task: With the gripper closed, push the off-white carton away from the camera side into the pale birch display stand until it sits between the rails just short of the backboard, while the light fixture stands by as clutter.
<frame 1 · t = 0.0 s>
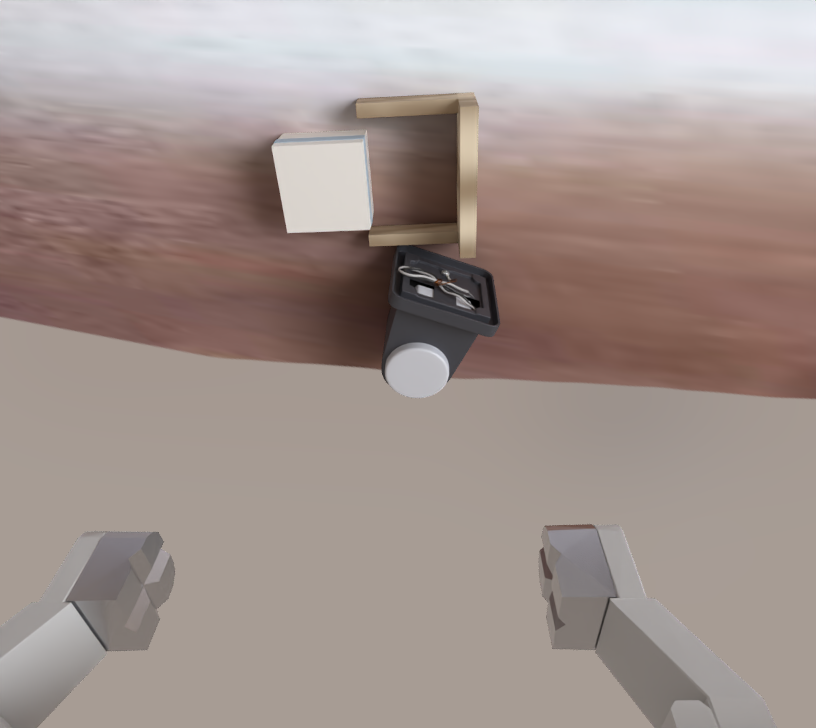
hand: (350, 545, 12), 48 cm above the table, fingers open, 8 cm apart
carton: (330, 173, 55), on the table
light fixture: (426, 302, 63), on the table
display stand: (410, 170, 54), on the table
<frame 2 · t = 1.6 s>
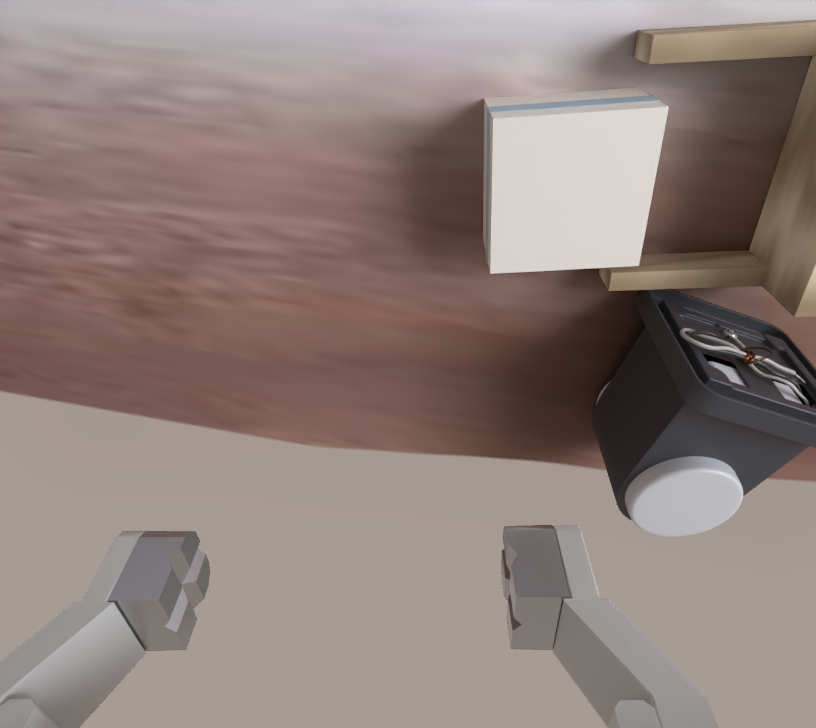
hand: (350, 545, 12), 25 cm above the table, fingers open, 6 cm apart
carton: (552, 168, 32), on the table
light fixture: (657, 371, 40), on the table
display stand: (696, 163, 31), on the table
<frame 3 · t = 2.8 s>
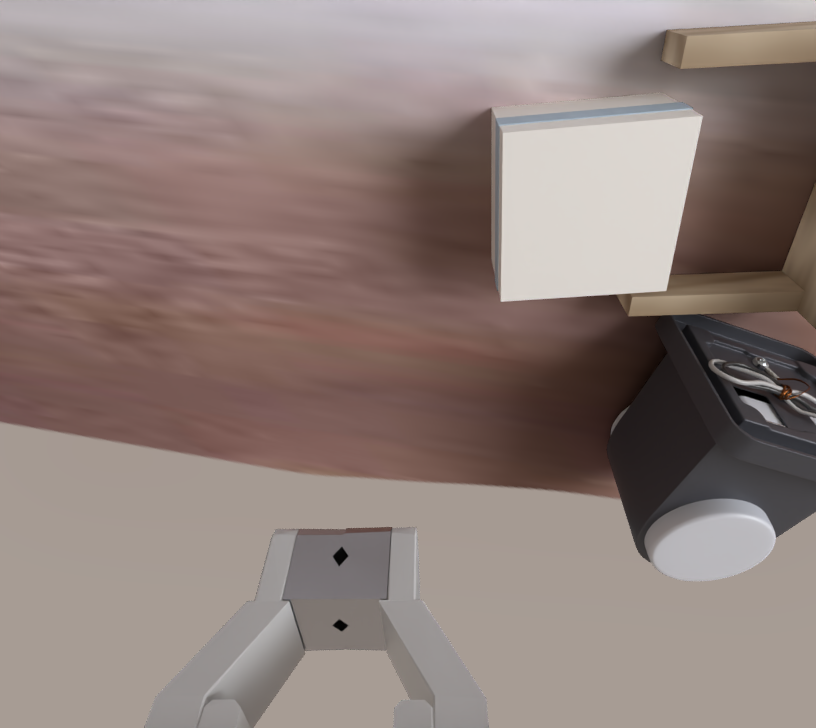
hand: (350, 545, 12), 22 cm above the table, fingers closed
carton: (568, 182, 29), on the table
light fixture: (677, 398, 37), on the table
display stand: (727, 176, 28), on the table
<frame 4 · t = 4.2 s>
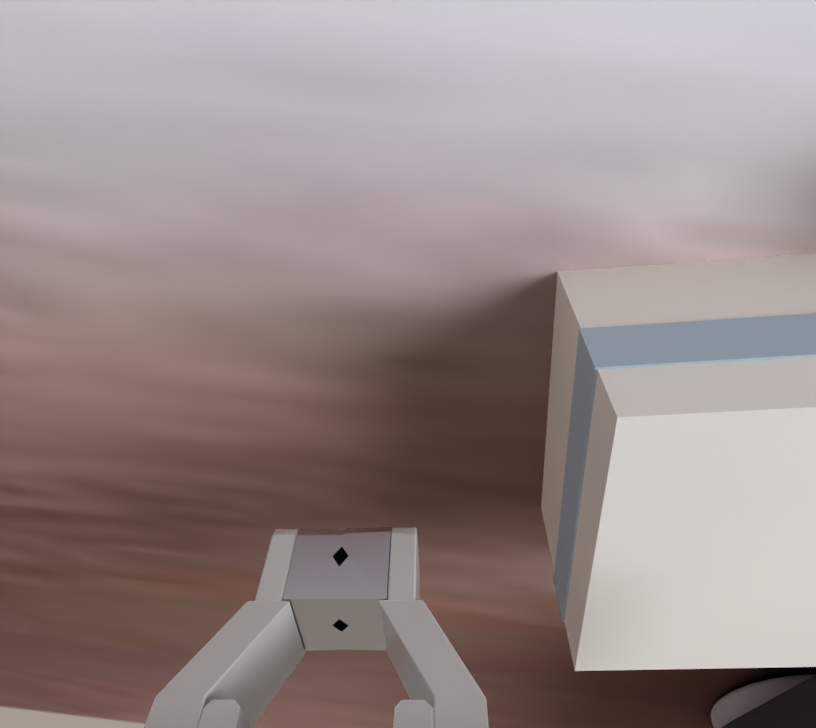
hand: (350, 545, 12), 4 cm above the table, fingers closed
carton: (702, 395, 14), on the table
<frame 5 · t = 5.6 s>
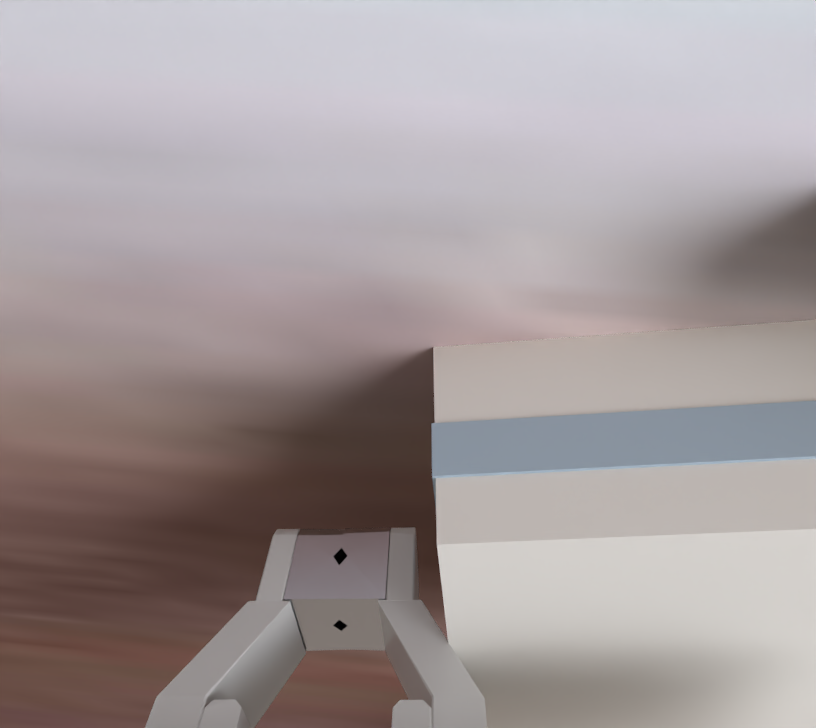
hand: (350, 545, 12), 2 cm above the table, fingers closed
carton: (609, 466, 14), on the table, touching gripper
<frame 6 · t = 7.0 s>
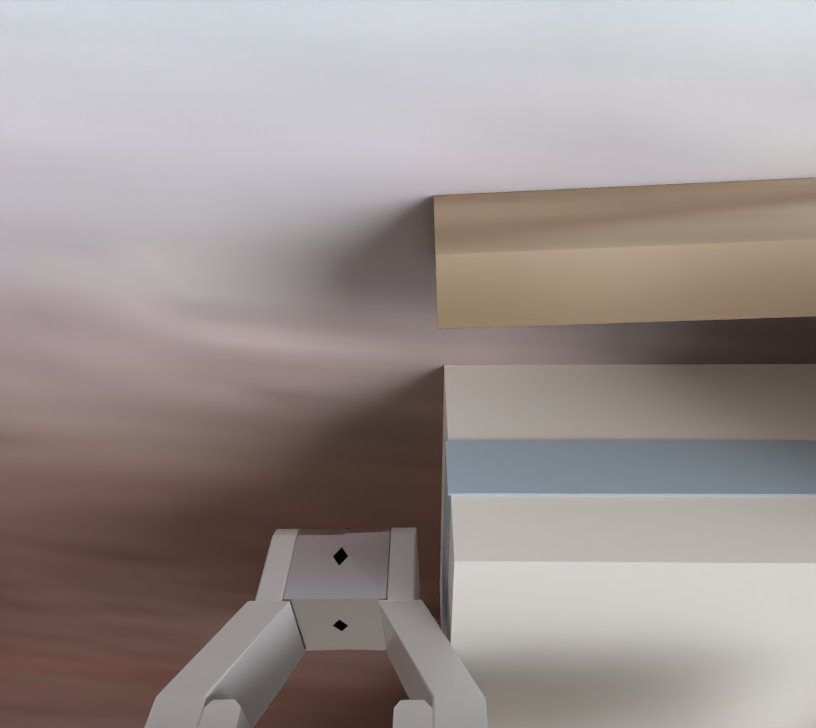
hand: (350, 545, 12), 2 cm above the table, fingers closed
carton: (599, 486, 14), on the table
display stand: (631, 465, 13), on the table
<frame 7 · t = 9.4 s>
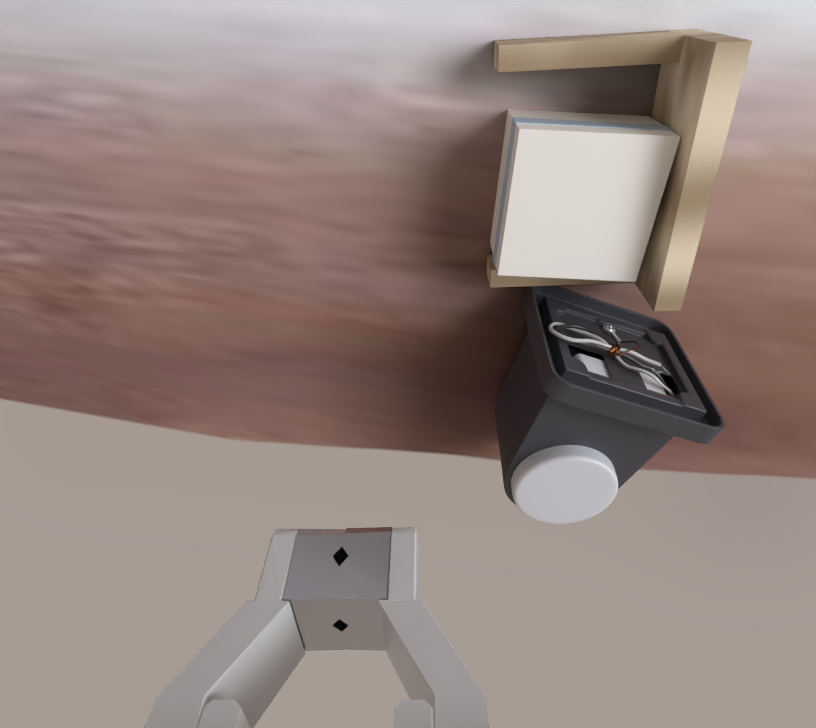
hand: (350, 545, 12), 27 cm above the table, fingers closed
carton: (563, 182, 34), on the table
light fixture: (556, 366, 42), on the table
display stand: (565, 165, 33), on the table
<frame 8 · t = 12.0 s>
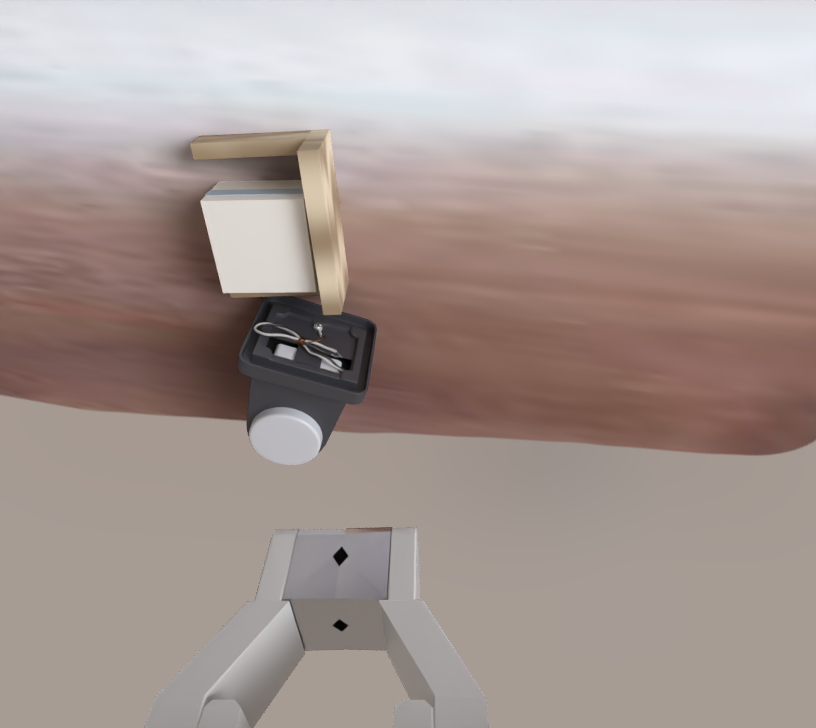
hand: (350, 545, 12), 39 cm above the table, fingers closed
carton: (274, 225, 49), on the table
light fixture: (310, 354, 57), on the table
display stand: (271, 214, 48), on the table
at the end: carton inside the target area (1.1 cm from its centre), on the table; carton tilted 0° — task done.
